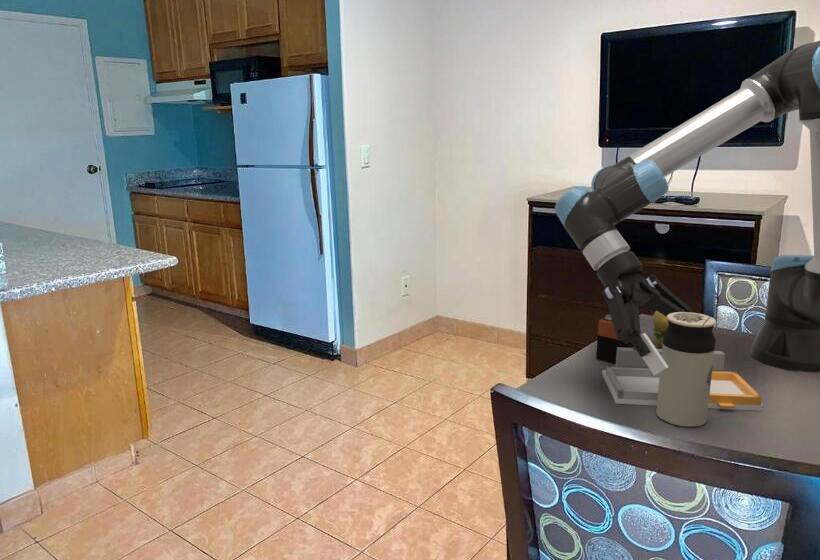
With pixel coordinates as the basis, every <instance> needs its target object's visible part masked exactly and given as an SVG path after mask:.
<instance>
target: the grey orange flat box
mask: <svg viewBox="0 0 820 560" xmlns="http://www.w3.org/2000/svg"><path fill="white" fill-rule="evenodd" d="M656 349H657V351H658V352H659V354H660V355H661V356H662V348H656ZM725 356H726V354H725V353H724V351H722V350H719V351H718V350H715V351H714V360H713V369H712V377H711V386H710V395H709V403H708V409H717V410H718V409H719V410H736V411H737V410H739V411H740V410H742V411H758V412H759V411H760V412H763V406H764V405H763V404H762V402H763V401H762V399H763V397H762V396H761V395H760V394H759V393H758V392H757V391H756V390H755V389H754V388H753V387H752V386H751V385H749V383H747V382H746V380H745V379H743V378H742V377H741V376H740V375H739V374H738V373H737V372H736V371H724V366H725V358H726V357H725ZM601 374H602V375H601V376H602V378H603V379H604V381H605V383H606V385H607V388H608V389H609V392H610V394H611V396H612V398H613V401H614V403H615V404H617V405H619V404H620V405H638V406H639V405H640V406H642V405H643V406H656V407H657V398H658V388H659V377H660V373H658V374H657V375H655V376H654V375H653V373H652V372H651V370H650V369H649V367H648V366H647V364H646V363H645V361H644V360H643V358H642V357H641V356H640V355H639V354H638V352H637V351H636V349H635V348H634V346H633V348H622V347H617V354H616V364H615V366H606V369H602V372H601Z"/></svg>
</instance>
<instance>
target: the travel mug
mask: <svg viewBox="0 0 820 560" xmlns="http://www.w3.org/2000/svg"><path fill="white" fill-rule="evenodd" d="M667 319H668V323H669V327H668V328H667V329H666V331H665V332H664V335H663V345H662V348H661V349H662V356H661V357H662V358H663V359H664V361H665V362H666V364H667V365H668V368H666V369H665V370H663V371H662V372H660V377H659V388H658V398H657V406H656V410H655V412H656V413H655V414H656V416H658V417H659V418H660V419H661V420H663V421H665V422H667V423H669V424H670V425H675V426H678V427H683V428H684V427H685V428H686V427H687V428H693V427H700V426H702V425H704V424H706V422H707V419H708V411H709V410H708V409H709V408H708V403H709V395H710V386H711V377H712V369H713V360H714V351H716V350H715V349H716V348H715V347H716V340H717V339H716V337H715V334H714V333H713V329H714V326H715V325H716V324H717V320H716V319H715V318H714V317H712V316H709V315H707V314H703V313H699V312H698V313H697V312H693V313H691V312H675V313H670V314H668V315H667Z"/></svg>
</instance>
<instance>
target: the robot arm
mask: <svg viewBox="0 0 820 560" xmlns="http://www.w3.org/2000/svg"><path fill="white" fill-rule="evenodd" d="M794 111H798V117H799V118H798V119H799V120H798V121H799V123H800V124H801V125H804V127H806V128H807V129H808V130H809V144H810V146H809V149H810V174H811V175H810V176H811V177H810V179H811V180H810V181H811V202H812V203H811V206H812V230H813V231H812V232H813V234H812V235H813V255H810V254H807V255H806V254H786V255H785V254H784V255H783V254H782V255H778V256H776V257H775V258H774V259H773V260H772V264H771V268H770V270H769V274H770V275H769V276H770V277H769V282H768V284H769V285H768V290H767V291H768V292H767V297H766V298H767V300H766V305H765V306H766V307H765V315H764V321H763V323H762V325H761V326H760V329H759V331H758V333H757V334H756V336H755V338H754V339H753V342H752V344H751V350H750V351H751V352H750V354H751V357H753V359H756V360H757V361H759V362H761V363H764V364H765V365H769V366H772V367H775V368H780V369H783V370H789V371H790V370H791V371H795V372H796V371H797V372H806V373H807V372H808V373H819V372H820V40H818V41H814V42H810V43H805V44H802V45H800V46H797V47H795V48H793V49H791V50H789V51H787V52H786V53H784V54H783V55H781V56H780V57H778V58H776V59H775V60H774V61H772V62H771V63H769V64H767V65H766V66H765V67H763V68H761V69H760V70H759V71H757V72H756V73H754V74H753V75H751V76H750V77H748V78H746V79H744V80H743V81H742V82H741V85H740V88H739V89H738V90H736V91H734V92H733V93H731V94H730V95H728V96H725V97H724V98H722V99H721V100H720V101H718V102H716V103H714V104H712V105H711V106H709V107H708V108H706V109H705V110H703V111H700V113H698V114H696V115H695V116H693V117H691V118H689V119H687V120H686V121H684V122H683V123H681V124H680V125H678V126H676V127H674V128H673V129H671V130H669V131H668V132H666V133H665V134H662V135H661V136H659V137H658V138H656V139H654V140H653V141H651V142H649V143H647V144H646V145H644V146H643V147H641V148H639V149H638V150H636V151H635V152H633V153H631V154H629V155H628V156H627V157H625V158H623V159H622V160H620V161H618V162H616V163H615V164H613V165H608V166H605V167H603V168H600V169H598V170H597V171H596V172H595V174H594V175H593V177H592V179H591V182H590V183H591V184H590V185H591V186H590V187H591V190H590V189H588V187H587V186H583V185H579V186H576V187H574V188H571V189H569V190H567V191H566V192H565V193H563V194H562V195H561V196H560V197H559V198H558V199H557V201H556V203H555V206H554V212H555V214H556V216H557V217H558V218H559V219H558V220H560V222H561V224H562V225H563V227H564V229H565V230H566V232H567V233H568V235H569V236H570V238H571V239H572V240H573V242H574V243H575V244H576V246H577V248H578V249H579V251H580V252H581V253H582V255H583V256H584V257H585V259H586V260H587V262H588V263H589V265H590V266H591V268H592V269H593V271H596V276H597V278H598V279H599V280H600V282H601V284H602V285H603V286H604V288H605V289H604V290H603V291H602V292H601V294H602V297H603V298H604V300H605V302H606V304H607V308H608V310H609V315H611V318H612V322H613V326H614V329H615V333H616V336H617V338H618V339H619V340H622V341H623V342H624V343H625V344H627V343H629V342H631V343H632V345H633V346H634V348H635V349H636V351H637V352H638V354H639V355H640V356H641V357H642V358H643V360H644V361H645V363H646V364H647V366H648V367H649V369H650V370H651V372H652V373H653V375H654V376H655V375H657V374H658V373H660V372H662V371H663V370H665V369H666V368H668V365H667V364H666V362H665V361H664V359H663V358H662V357H661V355H660V354H659V352H658V351H657V349H658V348H656V345H655V344H654V342H652V340H651V339H650V338H649V335H648V334H647V333H646V332H644V333H642V332H641V321H640V311H639V306H641V307H642V306H645V307H651V308H652V309H653V310H655V311H656V310H657V311H658V312H660V313H661V314H663V315H664V316H666V317H667V315H668V314H670V313H675V312H691V313H694V311H693V309H692V308H691V307H690V306H688V305H687V304H686V303H685V302H684V301H682V300H681V298H679V297H678V296H677V295H676V294H675V293H673V292H672V291H671V290H670V288H668V287H667V286H666V285H664V284H663V283H662V282H661V281H660V279H658V277H657V276H656V275H655V274H653V273H652V274H651V275H650V276H648V277H647V278H645V277H644V276H643V275H642V273H641V272H642V270H643V267H644V266H643V264H642V262H641V261H640V259H639V258H638V256H637V255H636V254H635V252H634V251H631V250H630V249H631V247H630V245H629V244H628V242H627V241H626V240H625V239H624V238H623V236H622V235H621V233H620V232H619V231H618V228H617V227H616V226H615V225H617V224H619V223H620V222H622V221H623V220H626V219H627V218H629V217H631V216H632V215H633V214H635V213H638V211H640V210H643V209H644V208H646V207H647V206H649V205H651V204H655V202H656V201H657V200H658V199H659V200H660V198H662V197H663V196H664V195H666V194H667V192H668V190H669V185H668V181H667V178H666V177H667V176H669V175H670V174H673V173H674V172H675V171H677V170H679V169H681V168H683V167H685V166H686V165H688V164H689V163H691V162H693V161H695V160H697V159H698V158H700V157H701V156H703V155H705V154H707V153H709V152H710V151H712V150H713V149H715V148H717V147H718V146H720V145H722V144H725V142H727V141H729V140H731V139H732V138H734V137H736V136H737V135H739V134H741V133H742V132H744V131H746V130H748V129H749V128H751V127H754V126H755V125H756V124H758V123H760V122H764V123H769V122H772V121H773V120H776V119H777V118H779V117H781V116H783V115H785V114H788V113H791V112H794ZM622 328H624V329H623V330H622ZM641 333H642V334H641Z"/></svg>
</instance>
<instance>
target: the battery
mask: <svg viewBox="0 0 820 560" xmlns="http://www.w3.org/2000/svg"><path fill="white" fill-rule="evenodd" d="M597 327H598V328H597V337H596V341H597V342H596V352H595V356H596V357H595V359H596V360H597V361H603V362H605V363H610V364H613V365H616V354H617V347H622V348H633V345H632V343H631V342H629V343H627V344H625V343H624V342H623V341H622V340H619V339H618V338H617V336H616V333H615V329H614V326H613V322H612V318H611V315H610V314H606V315H605V317H603V318H600V319H599V320H598V325H597ZM623 329H624V328H622V330H623Z"/></svg>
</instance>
